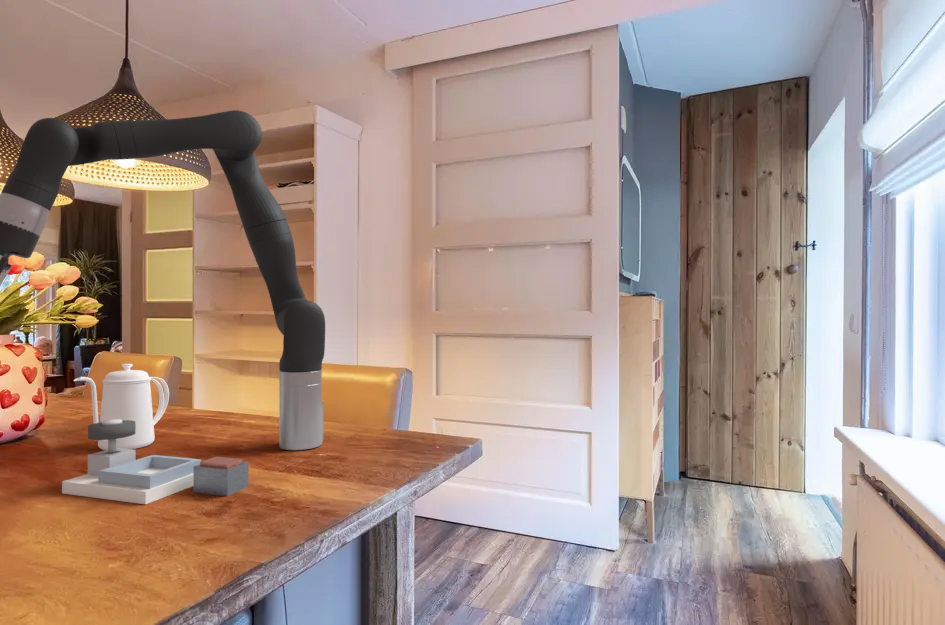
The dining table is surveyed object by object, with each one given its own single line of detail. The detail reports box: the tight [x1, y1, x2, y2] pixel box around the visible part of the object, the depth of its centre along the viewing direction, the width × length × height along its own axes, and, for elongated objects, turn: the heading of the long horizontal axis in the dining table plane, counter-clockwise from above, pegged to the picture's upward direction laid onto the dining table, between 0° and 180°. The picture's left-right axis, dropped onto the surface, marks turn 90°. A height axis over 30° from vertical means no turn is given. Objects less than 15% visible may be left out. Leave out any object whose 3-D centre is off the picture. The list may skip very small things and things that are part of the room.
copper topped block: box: [192, 456, 249, 497], centre depth 91 cm, size 5×7×5 cm
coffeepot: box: [73, 363, 170, 451], centre depth 121 cm, size 11×25×19 cm, turn 168°
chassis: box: [61, 448, 202, 505], centre depth 93 cm, size 13×18×6 cm
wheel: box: [87, 419, 135, 454], centre depth 95 cm, size 7×7×6 cm
